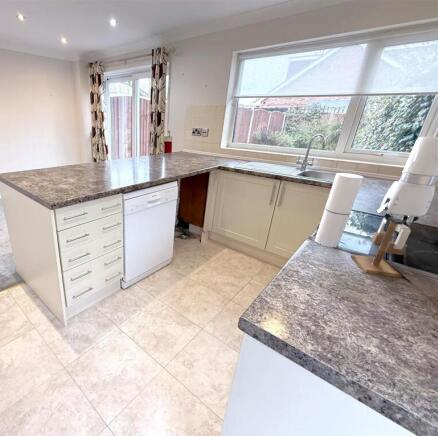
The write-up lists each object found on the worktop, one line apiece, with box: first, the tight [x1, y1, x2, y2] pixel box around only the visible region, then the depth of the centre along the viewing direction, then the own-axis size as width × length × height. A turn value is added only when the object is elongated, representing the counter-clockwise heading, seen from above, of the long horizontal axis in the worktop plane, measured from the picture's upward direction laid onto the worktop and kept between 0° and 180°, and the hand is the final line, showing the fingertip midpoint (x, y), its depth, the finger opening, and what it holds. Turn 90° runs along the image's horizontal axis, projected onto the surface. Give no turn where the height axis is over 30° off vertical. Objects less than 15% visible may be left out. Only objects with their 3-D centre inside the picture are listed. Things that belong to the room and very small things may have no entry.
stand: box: [350, 217, 404, 279], centre depth 72 cm, size 9×9×16 cm
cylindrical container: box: [314, 172, 364, 248], centre depth 85 cm, size 7×7×25 cm
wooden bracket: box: [370, 217, 412, 256], centre depth 82 cm, size 5×10×11 cm, turn 166°
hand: (392, 232), depth 82 cm, fingers closed on wooden bracket, 2 cm apart
